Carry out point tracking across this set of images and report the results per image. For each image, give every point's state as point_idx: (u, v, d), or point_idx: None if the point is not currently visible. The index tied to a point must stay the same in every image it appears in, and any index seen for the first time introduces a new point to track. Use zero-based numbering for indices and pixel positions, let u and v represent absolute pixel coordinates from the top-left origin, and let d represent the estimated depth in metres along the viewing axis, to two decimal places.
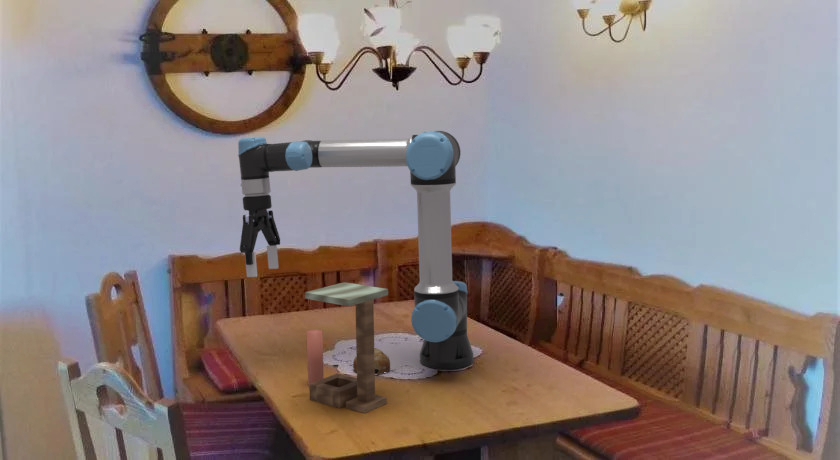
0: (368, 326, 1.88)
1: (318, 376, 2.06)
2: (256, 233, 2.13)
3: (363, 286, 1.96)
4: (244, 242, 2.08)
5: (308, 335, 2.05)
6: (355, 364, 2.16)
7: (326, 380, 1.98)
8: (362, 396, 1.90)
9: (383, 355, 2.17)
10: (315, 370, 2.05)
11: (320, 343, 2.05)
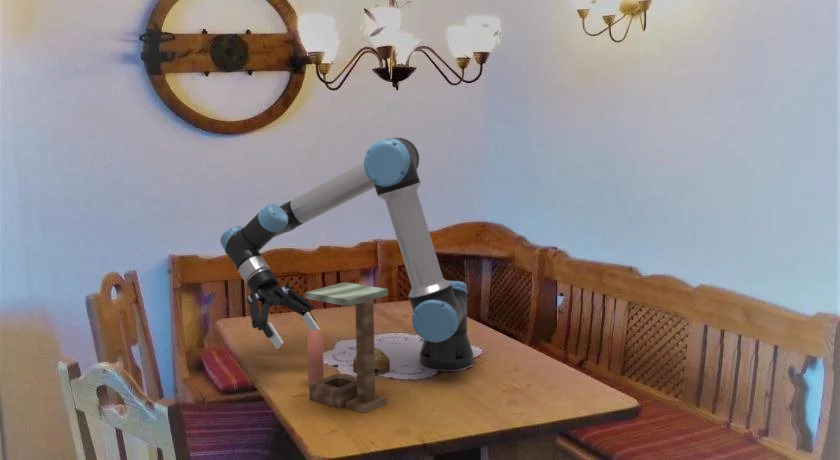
0: (368, 326, 1.88)
1: (318, 376, 2.06)
2: (266, 306, 2.08)
3: (363, 286, 1.96)
4: (253, 318, 2.05)
5: (308, 335, 2.05)
6: (355, 364, 2.16)
7: (326, 380, 1.98)
8: (362, 396, 1.90)
9: (383, 355, 2.17)
10: (315, 370, 2.05)
11: (320, 343, 2.05)
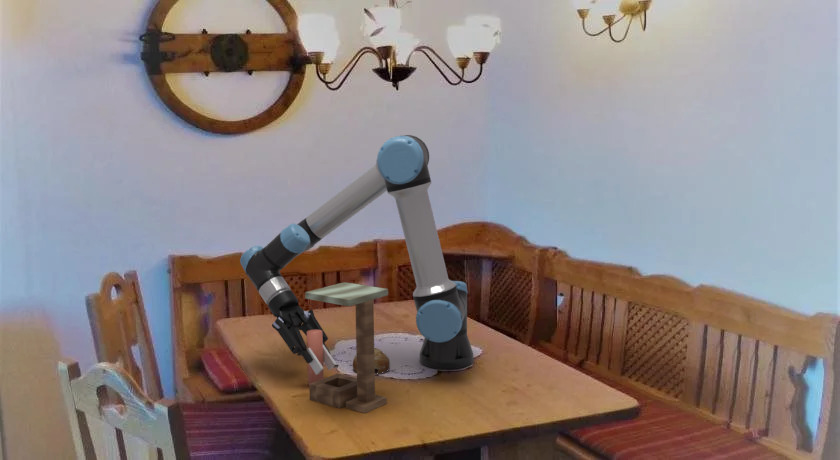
0: (368, 326, 1.88)
1: (318, 376, 2.06)
2: (296, 330, 2.06)
3: (363, 286, 1.96)
4: (291, 345, 2.04)
5: (308, 335, 2.05)
6: (354, 364, 2.16)
7: (326, 380, 1.98)
8: (362, 396, 1.90)
9: (382, 355, 2.17)
10: None
11: (320, 343, 2.05)
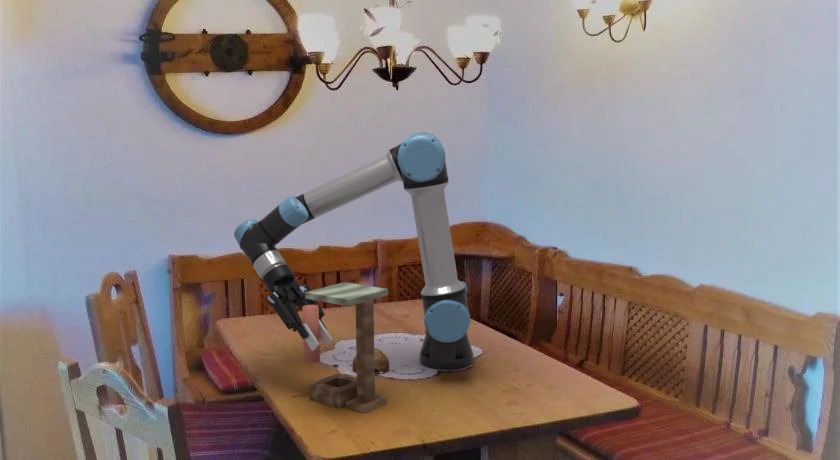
0: (368, 326, 1.88)
1: (314, 353, 1.99)
2: (292, 305, 1.99)
3: (363, 286, 1.96)
4: (286, 320, 1.96)
5: (304, 310, 1.98)
6: (354, 363, 2.17)
7: (326, 380, 1.98)
8: (362, 396, 1.90)
9: (382, 355, 2.17)
10: None
11: (316, 318, 1.98)
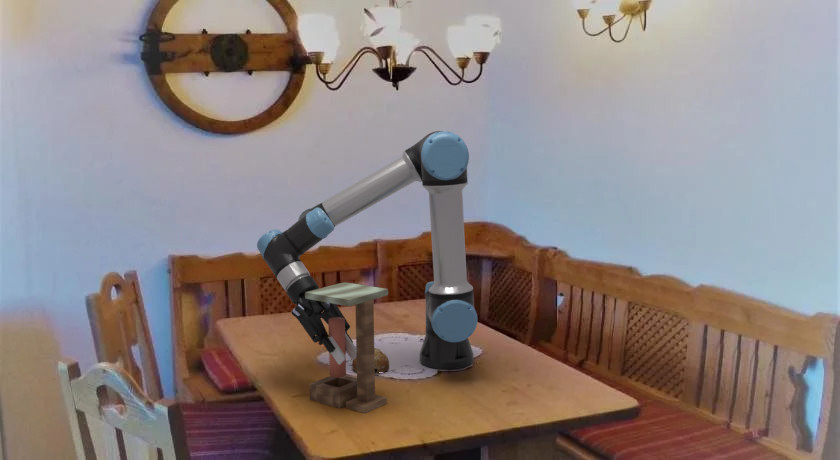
0: (368, 326, 1.88)
1: (340, 367, 1.94)
2: (317, 318, 1.95)
3: (363, 286, 1.96)
4: (312, 333, 1.92)
5: (330, 323, 1.93)
6: (354, 363, 2.17)
7: (326, 380, 1.98)
8: (362, 396, 1.90)
9: (382, 354, 2.17)
10: None
11: (342, 331, 1.94)
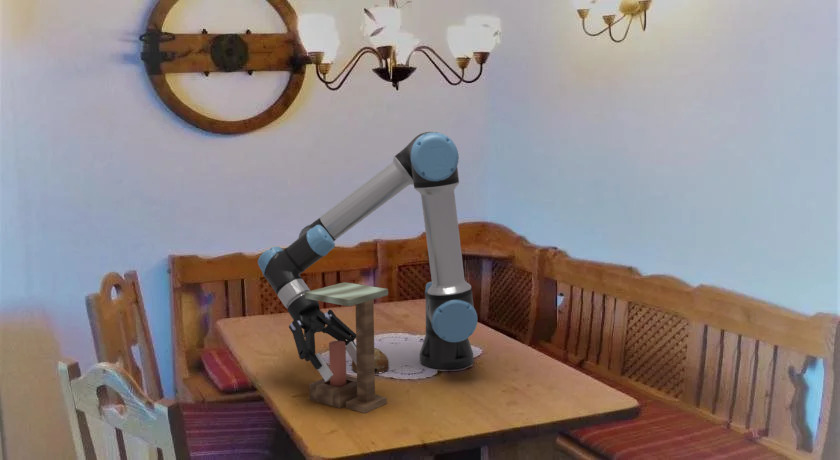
0: (368, 326, 1.88)
1: None
2: (311, 334, 1.95)
3: (363, 286, 1.96)
4: (300, 349, 1.91)
5: (330, 347, 1.94)
6: (354, 363, 2.17)
7: None
8: (362, 396, 1.90)
9: (382, 354, 2.18)
10: (337, 384, 1.95)
11: (343, 355, 1.95)
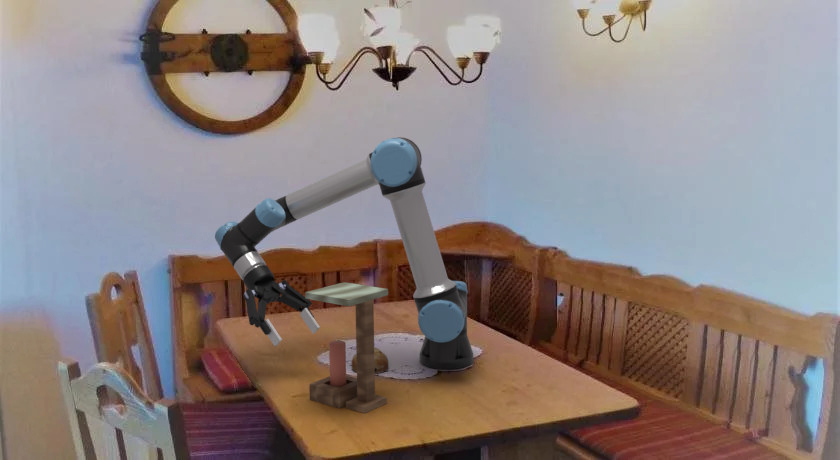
0: (368, 326, 1.88)
1: None
2: (263, 303, 2.03)
3: (363, 286, 1.96)
4: (250, 315, 2.00)
5: (330, 347, 1.94)
6: (353, 363, 2.17)
7: (326, 380, 1.98)
8: (362, 396, 1.90)
9: (381, 354, 2.18)
10: (337, 384, 1.95)
11: (343, 355, 1.95)
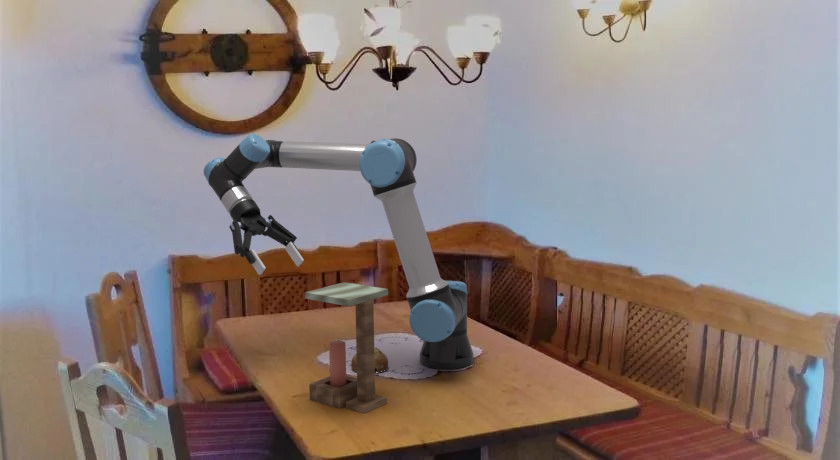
0: (368, 326, 1.88)
1: None
2: (249, 234, 2.09)
3: (363, 286, 1.96)
4: (235, 244, 2.05)
5: (331, 347, 1.94)
6: (353, 363, 2.17)
7: (326, 380, 1.98)
8: (362, 396, 1.90)
9: (381, 354, 2.18)
10: (338, 384, 1.95)
11: (343, 355, 1.95)
